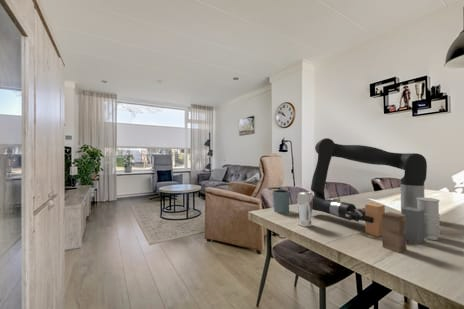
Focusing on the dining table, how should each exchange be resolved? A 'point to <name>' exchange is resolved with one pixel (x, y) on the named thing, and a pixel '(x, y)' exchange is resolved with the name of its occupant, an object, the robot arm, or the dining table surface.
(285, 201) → the grey-green cup
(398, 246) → the walnut block
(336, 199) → the game die
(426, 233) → the grey ribbed canister
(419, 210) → the grey block
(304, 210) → the beer glass
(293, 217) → the dining table surface
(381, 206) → the orange block
